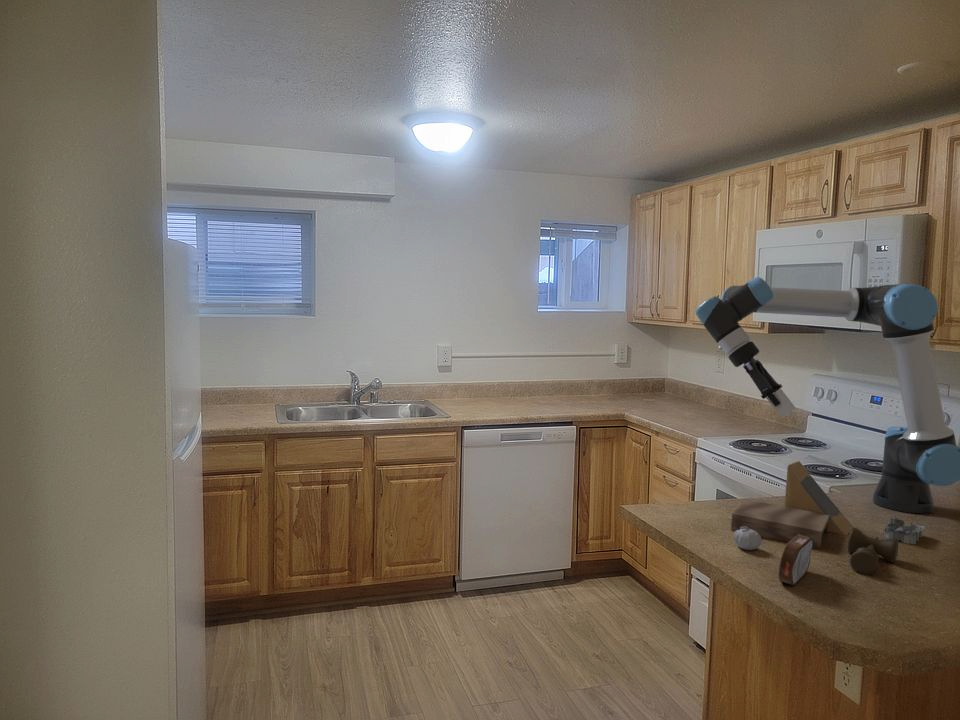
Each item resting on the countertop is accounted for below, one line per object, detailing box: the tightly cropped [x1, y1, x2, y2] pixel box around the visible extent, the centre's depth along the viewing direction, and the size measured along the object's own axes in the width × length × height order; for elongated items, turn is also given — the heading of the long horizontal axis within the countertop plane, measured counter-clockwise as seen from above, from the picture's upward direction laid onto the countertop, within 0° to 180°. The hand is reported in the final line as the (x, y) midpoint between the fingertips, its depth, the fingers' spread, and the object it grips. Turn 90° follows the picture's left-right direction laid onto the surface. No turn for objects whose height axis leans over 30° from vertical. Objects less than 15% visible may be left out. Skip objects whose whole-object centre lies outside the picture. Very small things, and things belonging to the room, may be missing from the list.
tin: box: [778, 534, 813, 586], centre depth 141 cm, size 15×3×8 cm, turn 140°
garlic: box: [733, 526, 762, 551], centre depth 158 cm, size 6×5×5 cm
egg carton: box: [883, 515, 925, 545], centre depth 171 cm, size 11×8×4 cm
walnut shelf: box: [730, 499, 830, 550], centre depth 171 cm, size 20×16×4 cm
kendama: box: [847, 526, 899, 576], centre depth 153 cm, size 6×10×20 cm
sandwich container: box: [784, 460, 854, 536], centre depth 178 cm, size 9×15×15 cm, turn 47°
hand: (789, 413), depth 180 cm, fingers open, 13 cm apart
